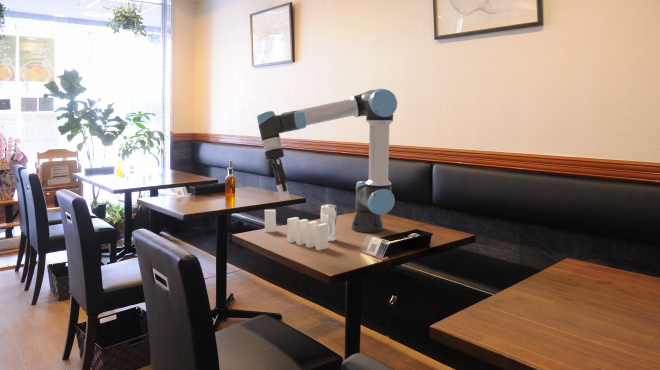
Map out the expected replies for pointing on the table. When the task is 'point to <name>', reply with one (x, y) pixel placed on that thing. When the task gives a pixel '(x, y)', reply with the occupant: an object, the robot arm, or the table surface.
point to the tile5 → (321, 236)
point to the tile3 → (301, 231)
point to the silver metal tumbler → (329, 219)
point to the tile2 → (291, 229)
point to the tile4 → (311, 234)
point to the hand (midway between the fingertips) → (285, 199)
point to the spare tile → (270, 220)
